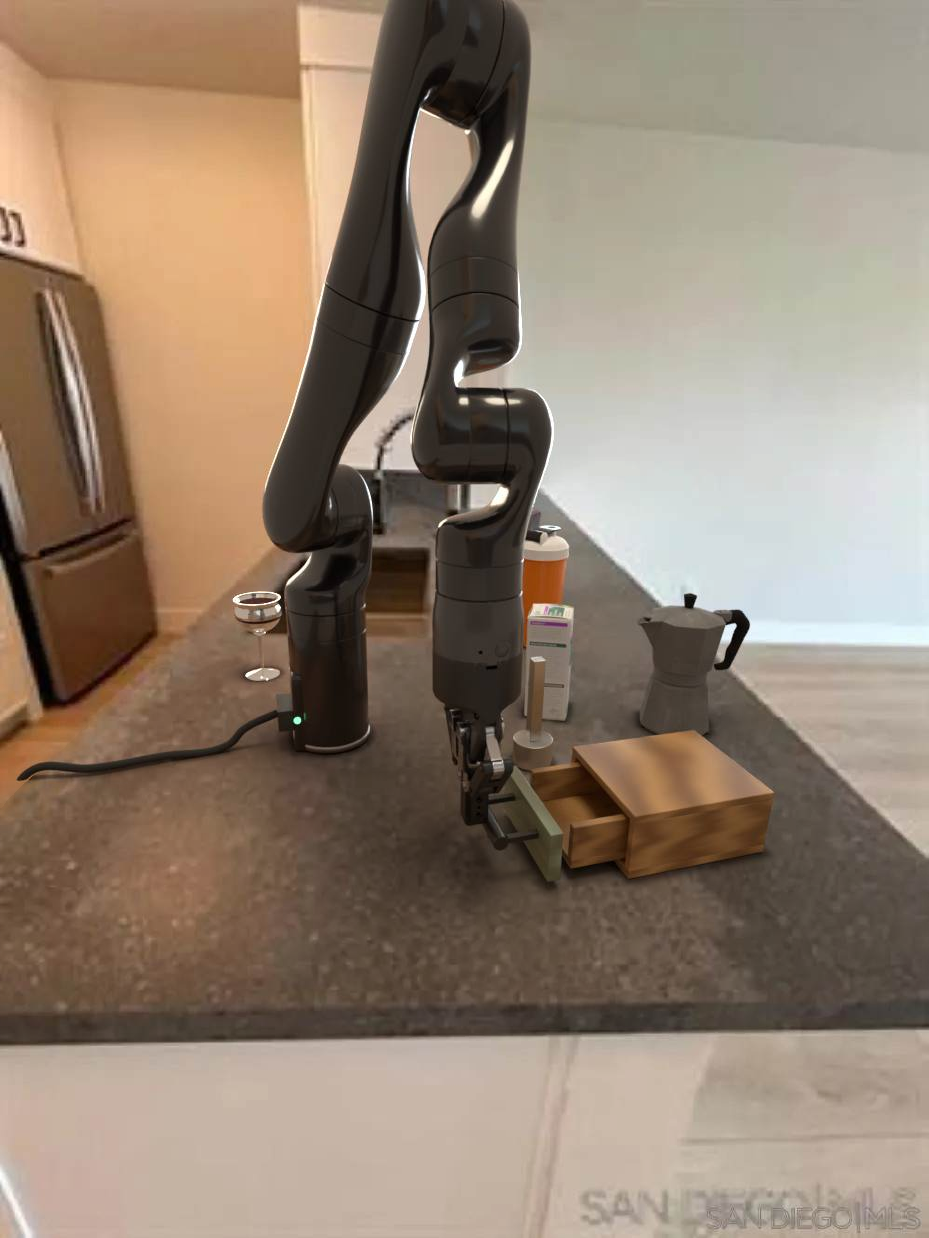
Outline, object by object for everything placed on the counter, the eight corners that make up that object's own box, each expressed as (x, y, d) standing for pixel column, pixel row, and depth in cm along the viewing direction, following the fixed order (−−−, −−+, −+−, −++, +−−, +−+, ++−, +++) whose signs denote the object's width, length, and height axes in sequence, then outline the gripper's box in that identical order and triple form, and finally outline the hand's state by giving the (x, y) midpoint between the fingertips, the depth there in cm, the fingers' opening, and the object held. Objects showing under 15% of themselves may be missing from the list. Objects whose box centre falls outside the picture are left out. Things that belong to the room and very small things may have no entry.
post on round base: (520, 773, 77) (526, 668, 73) (506, 753, 81) (511, 653, 77) (557, 768, 78) (565, 664, 74) (542, 748, 82) (548, 649, 78)
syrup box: (566, 722, 89) (574, 618, 85) (522, 717, 90) (527, 614, 86) (568, 703, 94) (576, 605, 90) (526, 699, 96) (532, 601, 91)
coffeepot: (642, 744, 84) (658, 607, 78) (612, 710, 93) (625, 584, 87) (753, 735, 87) (777, 602, 81) (714, 703, 95) (733, 581, 90)
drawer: (500, 891, 57) (503, 843, 56) (462, 814, 68) (463, 772, 66) (681, 855, 62) (688, 811, 61) (620, 788, 73) (625, 749, 71)
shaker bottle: (570, 639, 119) (579, 527, 112) (548, 655, 112) (556, 536, 105) (525, 630, 123) (531, 521, 117) (501, 644, 116) (506, 529, 110)
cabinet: (627, 879, 60) (635, 816, 58) (568, 801, 72) (572, 746, 70) (763, 851, 65) (774, 792, 62) (686, 781, 76) (693, 729, 74)
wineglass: (260, 662, 106) (254, 589, 102) (295, 670, 104) (290, 595, 100) (229, 677, 100) (222, 600, 97) (265, 686, 98) (259, 608, 94)
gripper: (416, 620, 61) (417, 787, 66) (455, 678, 49) (453, 875, 54) (494, 614, 63) (490, 776, 68) (551, 667, 51) (540, 859, 56)
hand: (474, 820), depth 61 cm, fingers closed
